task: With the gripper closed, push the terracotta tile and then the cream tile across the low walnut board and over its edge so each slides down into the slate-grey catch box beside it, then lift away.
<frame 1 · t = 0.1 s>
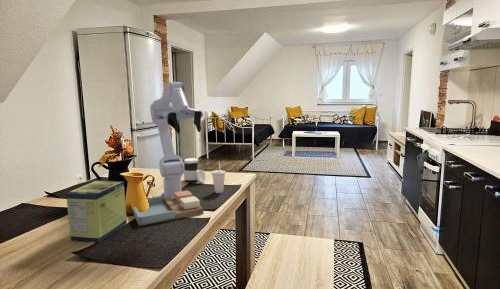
hand: (189, 131, 112), 32 cm above the table, tool tilted 50°, fingers open, 7 cm apart
cream tile: (190, 205, 123), point 2 cm above the table, touching walnut board
spread jar: (195, 181, 165), on the table
smoothie: (219, 192, 146), on the table
walnut board: (182, 207, 126), on the table
terracotta tile: (183, 199, 131), point 2 cm above the table, touching walnut board
protein box: (100, 232, 105), on the table
catch box: (152, 213, 121), on the table
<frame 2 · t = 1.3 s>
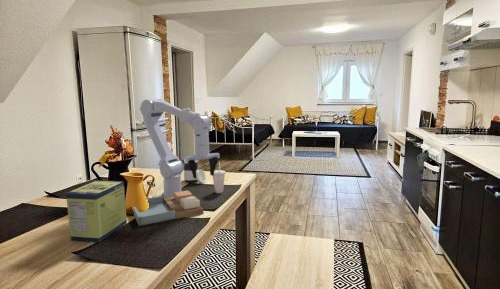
hand: (203, 176, 133), 11 cm above the table, tool pointing down, fingers open, 7 cm apart
nothing on the table moved.
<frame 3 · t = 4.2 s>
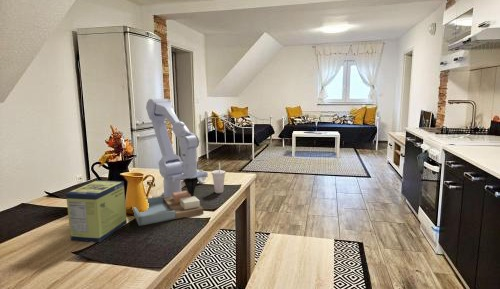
hand: (191, 195, 132), 3 cm above the table, tool pointing down, fingers closed
terracotta tile: (181, 199, 130), point 2 cm above the table, touching gripper, walnut board
everything else where it was.
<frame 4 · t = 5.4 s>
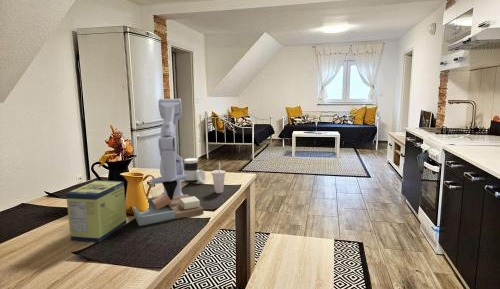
hand: (170, 199, 128), 3 cm above the table, tool pointing down, fingers closed
terracotta tile: (162, 204, 127), point 1 cm above the table, tilted 19°, touching catch box, gripper
everything else where it was.
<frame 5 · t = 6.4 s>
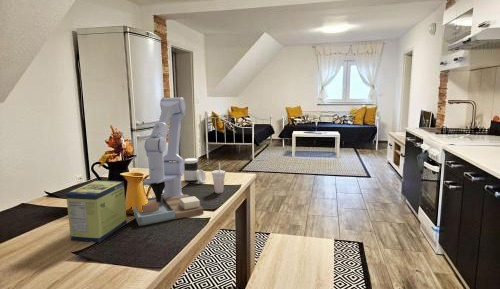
hand: (158, 201, 126), 3 cm above the table, tool pointing down, fingers closed
terracotta tile: (149, 208, 124), point 1 cm above the table, touching catch box, gripper
everything else where it was.
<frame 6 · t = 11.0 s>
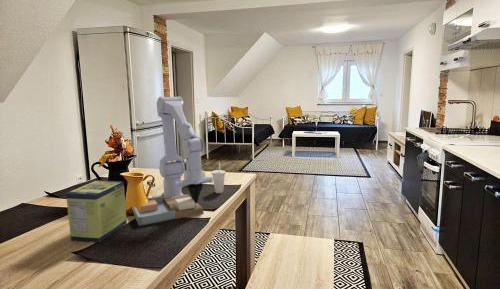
hand: (195, 202, 124), 3 cm above the table, tool pointing down, fingers closed
cream tile: (184, 206, 122), point 2 cm above the table, touching gripper, walnut board
terracotta tile: (148, 208, 124), resting on catch box
everything else where it was.
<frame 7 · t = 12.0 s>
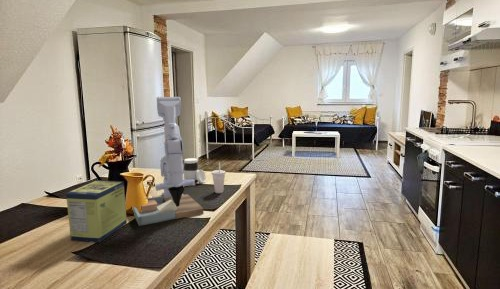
hand: (176, 205, 120), 3 cm above the table, tool pointing down, fingers closed
cream tile: (168, 211, 119), point 1 cm above the table, tilted 19°, touching gripper
everything else where it was.
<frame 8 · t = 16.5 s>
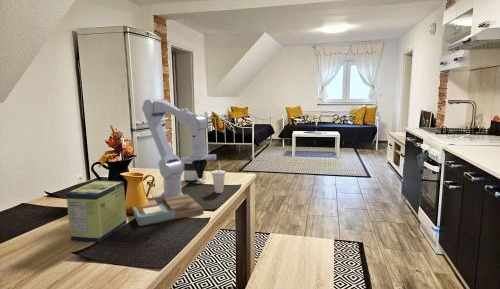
hand: (199, 178, 131), 10 cm above the table, tool pointing down, fingers closed
cream tile: (152, 216, 117), resting on catch box
everything else where it was.
at the end: terracotta tile inside the target area (4.2 cm from its centre), point 0.5 cm above the table; cream tile inside the target area (4.6 cm from its centre), point 0.5 cm above the table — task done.
